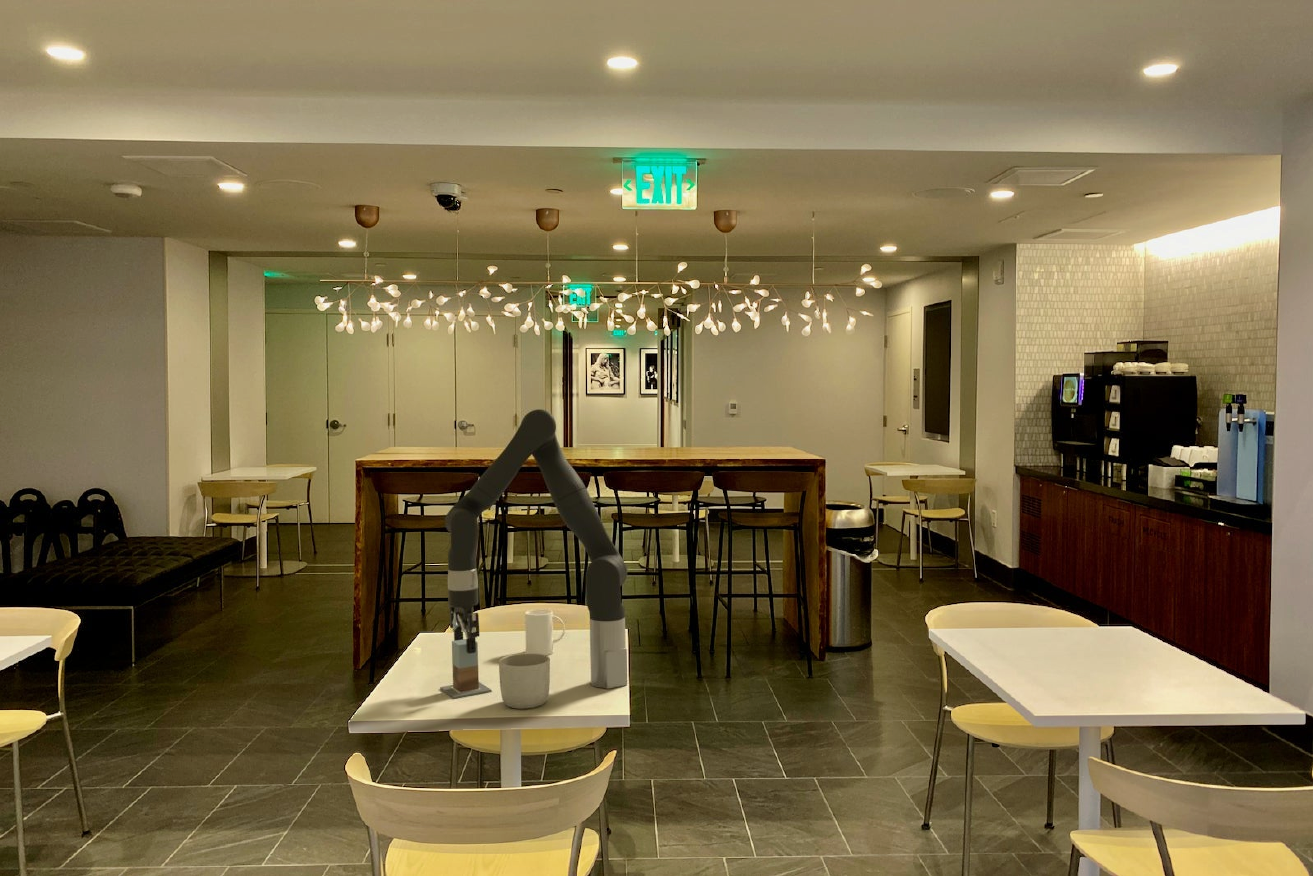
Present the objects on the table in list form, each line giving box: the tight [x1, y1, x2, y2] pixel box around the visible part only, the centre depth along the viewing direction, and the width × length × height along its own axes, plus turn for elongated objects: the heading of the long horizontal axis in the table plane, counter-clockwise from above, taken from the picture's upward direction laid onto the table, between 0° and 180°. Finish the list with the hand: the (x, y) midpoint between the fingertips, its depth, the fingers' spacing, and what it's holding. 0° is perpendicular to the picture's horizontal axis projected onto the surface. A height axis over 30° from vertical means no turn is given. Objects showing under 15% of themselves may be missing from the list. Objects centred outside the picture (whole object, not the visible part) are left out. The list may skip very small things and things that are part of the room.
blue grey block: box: [451, 638, 479, 669], centre depth 243 cm, size 5×5×6 cm
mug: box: [524, 608, 566, 656], centre depth 279 cm, size 12×8×12 cm
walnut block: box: [452, 664, 480, 692], centre depth 243 cm, size 5×5×6 cm
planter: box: [498, 652, 551, 710], centre depth 231 cm, size 12×12×11 cm
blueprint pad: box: [439, 681, 493, 699], centre depth 243 cm, size 10×10×1 cm
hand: (464, 649), depth 243 cm, fingers open, 8 cm apart
